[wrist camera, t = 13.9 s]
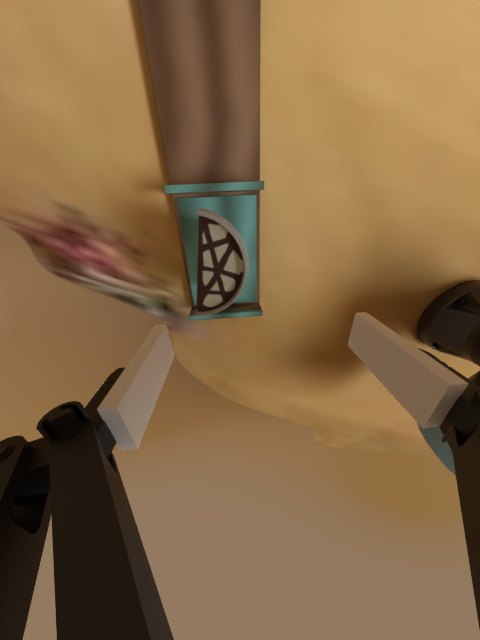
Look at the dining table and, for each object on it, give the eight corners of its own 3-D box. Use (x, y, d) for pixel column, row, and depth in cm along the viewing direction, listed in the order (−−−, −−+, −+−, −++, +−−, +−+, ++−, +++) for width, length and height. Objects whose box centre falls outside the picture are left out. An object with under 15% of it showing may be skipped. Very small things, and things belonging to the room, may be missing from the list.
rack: (258, -26, 19) (267, -89, 15) (258, 304, 36) (262, 315, 32) (135, -25, 19) (111, -90, 15) (193, 308, 36) (189, 320, 32)
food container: (238, 295, 34) (243, 323, 25) (202, 291, 33) (194, 319, 24) (249, 215, 28) (259, 216, 19) (205, 209, 28) (196, 207, 19)
